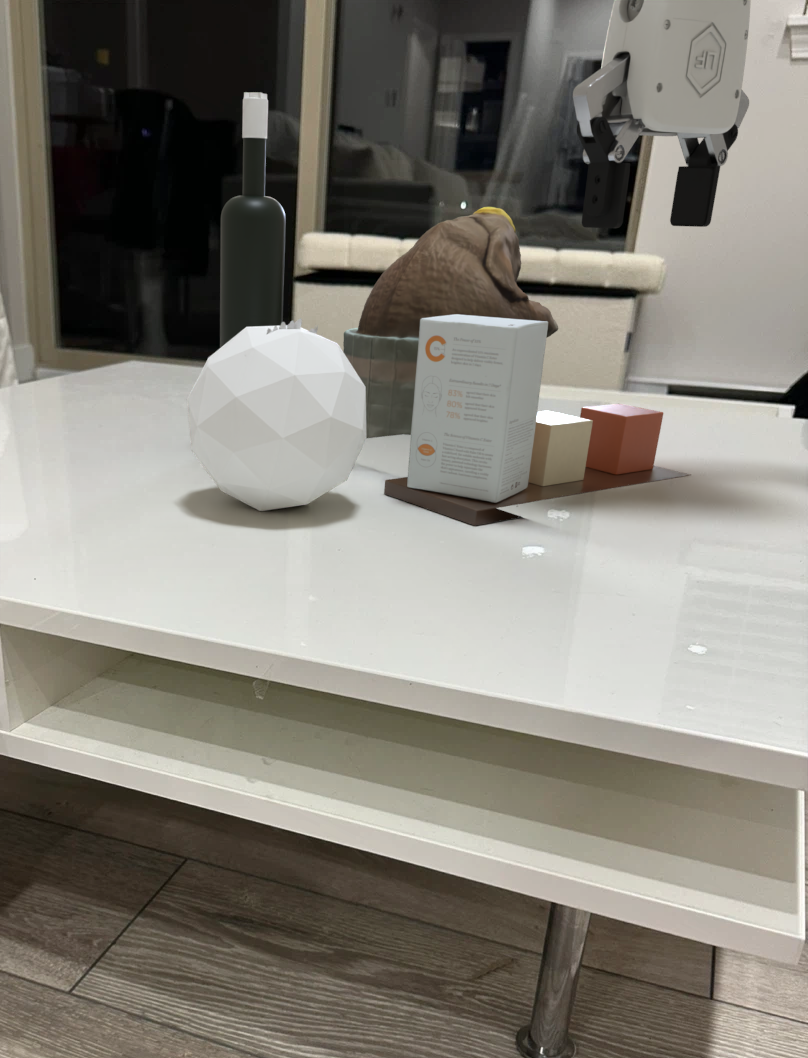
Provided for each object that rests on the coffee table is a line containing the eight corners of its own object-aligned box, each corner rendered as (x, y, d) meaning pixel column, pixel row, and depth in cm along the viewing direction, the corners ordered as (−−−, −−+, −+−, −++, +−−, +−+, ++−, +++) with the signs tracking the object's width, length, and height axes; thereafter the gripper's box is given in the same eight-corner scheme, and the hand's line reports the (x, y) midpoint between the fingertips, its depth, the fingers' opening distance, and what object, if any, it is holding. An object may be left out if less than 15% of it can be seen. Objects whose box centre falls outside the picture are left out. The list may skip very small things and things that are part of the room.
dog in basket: (540, 413, 126) (569, 209, 116) (554, 456, 103) (591, 209, 94) (351, 402, 129) (363, 203, 119) (325, 442, 107) (338, 201, 97)
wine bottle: (262, 442, 106) (270, 97, 93) (288, 454, 101) (301, 93, 88) (209, 446, 103) (210, 93, 90) (234, 458, 99) (239, 88, 86)
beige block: (540, 468, 93) (548, 410, 91) (583, 480, 90) (593, 420, 88) (499, 474, 91) (506, 414, 89) (542, 486, 87) (551, 425, 85)
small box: (528, 489, 86) (551, 320, 80) (496, 505, 81) (518, 326, 76) (439, 474, 90) (455, 312, 84) (403, 487, 85) (418, 317, 80)
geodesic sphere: (261, 399, 93) (212, 263, 81) (413, 417, 88) (384, 273, 76) (192, 531, 88) (128, 406, 76) (348, 559, 82) (307, 429, 70)
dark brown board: (592, 463, 101) (594, 450, 101) (689, 488, 93) (692, 474, 93) (383, 493, 88) (384, 479, 88) (474, 526, 80) (476, 510, 80)
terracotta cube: (609, 458, 98) (618, 403, 96) (653, 469, 94) (664, 412, 92) (572, 463, 95) (581, 407, 93) (616, 475, 92) (626, 416, 90)
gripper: (649, -92, 62) (606, 229, 69) (819, -56, 70) (764, 227, 78) (553, -68, 67) (523, 227, 75) (721, -37, 76) (679, 224, 84)
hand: (646, 226), depth 77 cm, fingers open, 9 cm apart
